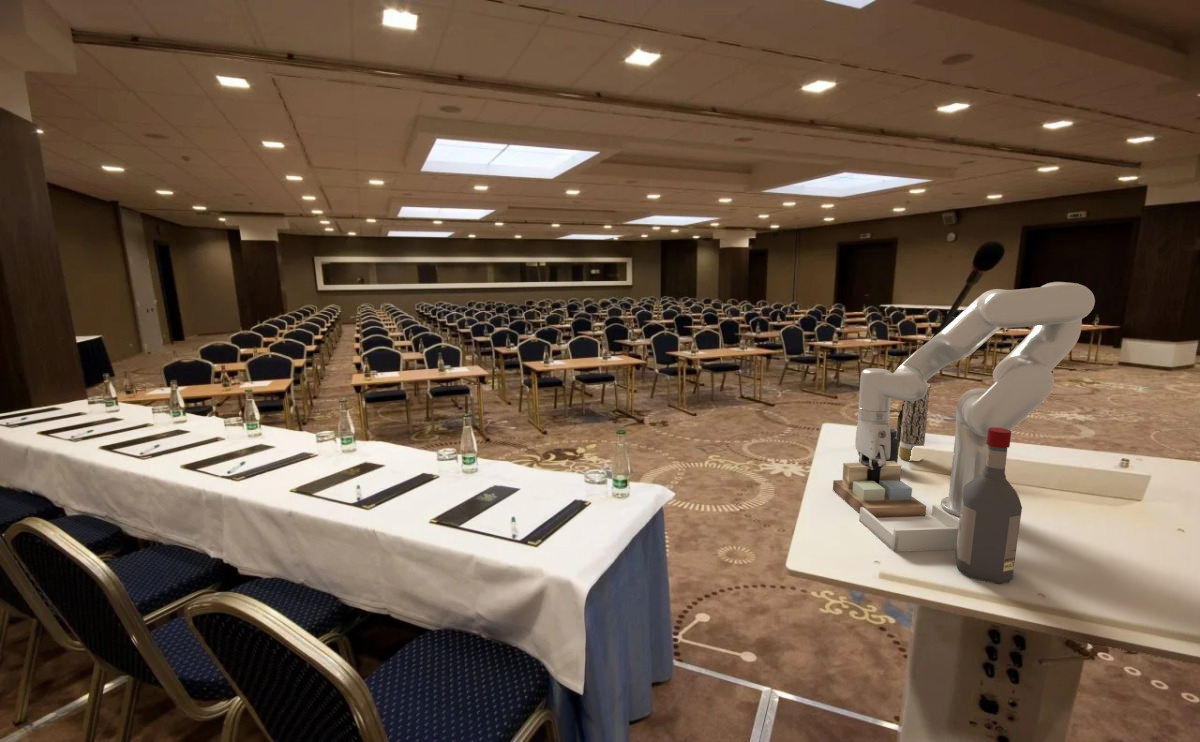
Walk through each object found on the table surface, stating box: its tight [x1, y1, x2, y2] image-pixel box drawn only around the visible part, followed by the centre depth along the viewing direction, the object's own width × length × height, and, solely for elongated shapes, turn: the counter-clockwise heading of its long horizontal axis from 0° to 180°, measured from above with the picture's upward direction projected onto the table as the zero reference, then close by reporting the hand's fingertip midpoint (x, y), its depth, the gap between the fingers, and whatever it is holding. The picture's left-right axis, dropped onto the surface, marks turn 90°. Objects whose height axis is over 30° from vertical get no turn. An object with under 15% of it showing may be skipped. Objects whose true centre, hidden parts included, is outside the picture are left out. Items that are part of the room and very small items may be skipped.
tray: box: [859, 504, 960, 553], centre depth 125 cm, size 15×19×5 cm
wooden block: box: [842, 461, 902, 489], centre depth 146 cm, size 4×14×7 cm, turn 91°
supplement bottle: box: [875, 427, 900, 463], centre depth 167 cm, size 7×7×12 cm
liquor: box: [955, 427, 1023, 585], centre depth 107 cm, size 9×9×30 cm
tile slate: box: [879, 479, 913, 500], centre depth 140 cm, size 6×6×3 cm
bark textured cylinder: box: [898, 382, 931, 462], centre depth 172 cm, size 7×7×25 cm
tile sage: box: [852, 481, 885, 501], centre depth 139 cm, size 6×6×3 cm
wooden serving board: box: [832, 479, 927, 518], centre depth 142 cm, size 18×15×3 cm
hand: (868, 479), depth 146 cm, fingers closed on wooden block, 3 cm apart
